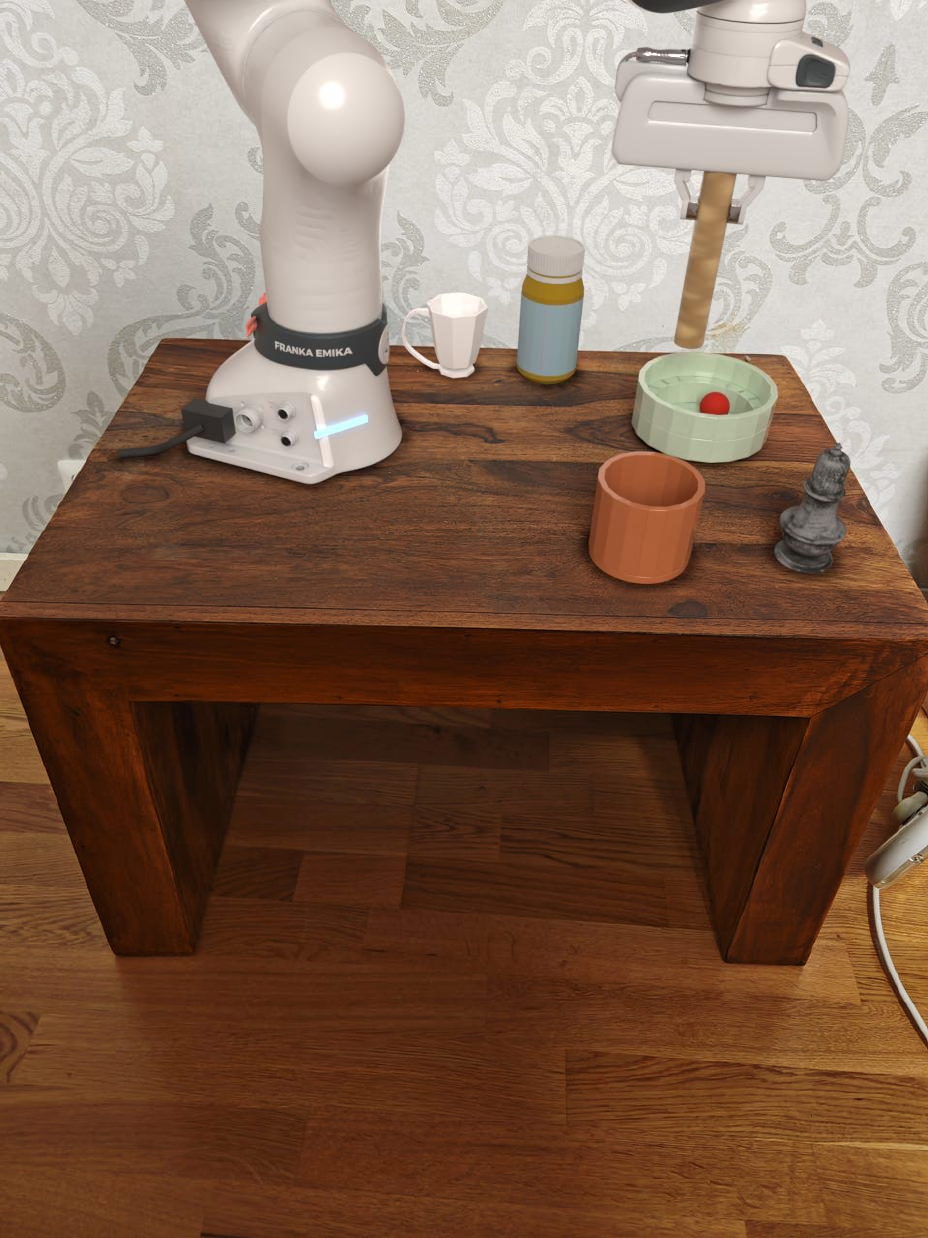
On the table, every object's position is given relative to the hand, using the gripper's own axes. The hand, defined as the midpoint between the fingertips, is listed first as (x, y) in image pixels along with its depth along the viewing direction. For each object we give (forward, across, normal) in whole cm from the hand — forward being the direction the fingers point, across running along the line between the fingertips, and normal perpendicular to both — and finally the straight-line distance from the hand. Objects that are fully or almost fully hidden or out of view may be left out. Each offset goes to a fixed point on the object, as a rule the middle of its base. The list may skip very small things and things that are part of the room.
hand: (711, 219), depth 91 cm
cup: (+23, -27, +8) cm, 36 cm away
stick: (+12, 0, 0) cm, 12 cm away
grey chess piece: (+23, +13, -20) cm, 33 cm away
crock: (+22, -2, -23) cm, 32 cm away
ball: (+20, +4, +2) cm, 21 cm away
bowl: (+22, +3, 0) cm, 23 cm away
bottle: (+23, -15, +10) cm, 29 cm away
